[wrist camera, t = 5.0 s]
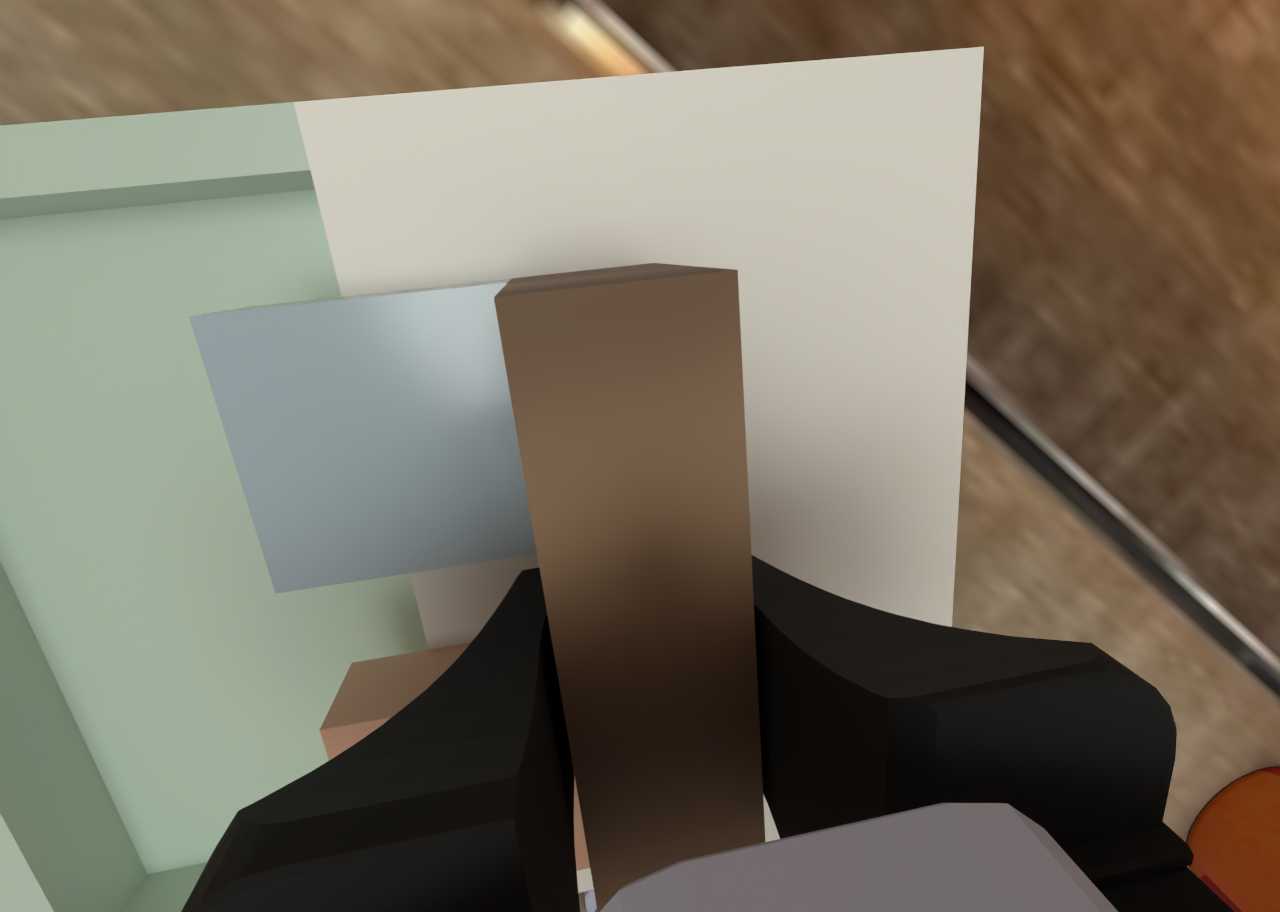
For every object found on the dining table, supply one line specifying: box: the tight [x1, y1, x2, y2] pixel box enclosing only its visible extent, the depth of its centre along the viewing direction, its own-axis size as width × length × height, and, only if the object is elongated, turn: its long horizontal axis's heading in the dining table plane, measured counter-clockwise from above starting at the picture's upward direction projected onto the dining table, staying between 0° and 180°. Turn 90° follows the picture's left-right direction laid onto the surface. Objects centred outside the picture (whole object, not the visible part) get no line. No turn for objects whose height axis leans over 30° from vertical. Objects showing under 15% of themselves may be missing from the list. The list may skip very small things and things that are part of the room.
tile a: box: [319, 643, 590, 871], centre depth 13 cm, size 4×4×2 cm
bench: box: [294, 47, 984, 893], centre depth 15 cm, size 18×12×3 cm, turn 6°
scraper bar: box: [494, 263, 765, 912], centre depth 11 cm, size 12×2×5 cm, turn 6°
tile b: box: [189, 279, 537, 594], centre depth 11 cm, size 4×4×2 cm
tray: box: [0, 102, 429, 912], centre depth 14 cm, size 18×10×3 cm, turn 6°
